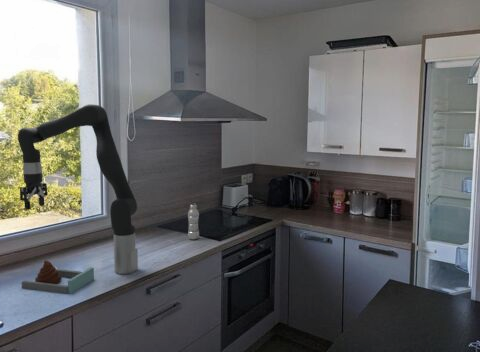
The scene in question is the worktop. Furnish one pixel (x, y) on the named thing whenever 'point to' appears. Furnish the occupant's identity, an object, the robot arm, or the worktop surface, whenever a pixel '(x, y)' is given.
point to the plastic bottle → (193, 222)
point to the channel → (74, 284)
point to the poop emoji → (48, 274)
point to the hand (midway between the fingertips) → (35, 207)
